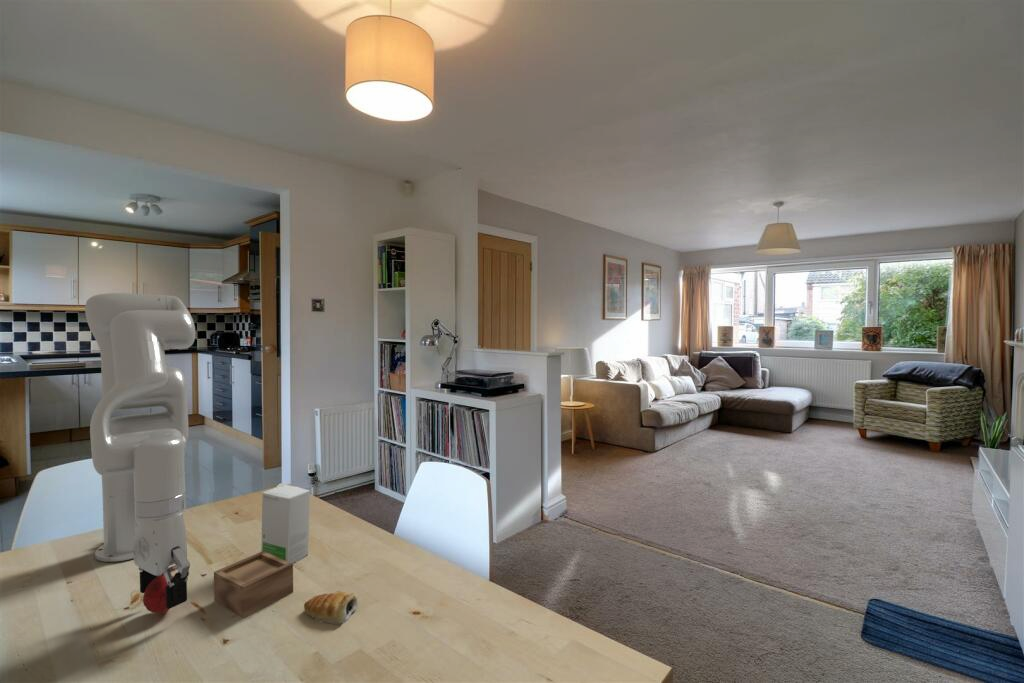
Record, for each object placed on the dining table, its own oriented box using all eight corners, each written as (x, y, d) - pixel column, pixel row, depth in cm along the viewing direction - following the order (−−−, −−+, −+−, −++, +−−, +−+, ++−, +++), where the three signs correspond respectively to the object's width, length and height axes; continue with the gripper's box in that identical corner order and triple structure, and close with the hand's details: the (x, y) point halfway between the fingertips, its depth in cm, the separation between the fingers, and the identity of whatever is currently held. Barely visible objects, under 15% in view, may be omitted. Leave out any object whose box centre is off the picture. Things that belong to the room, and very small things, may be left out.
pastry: (295, 621, 89) (295, 601, 88) (316, 600, 95) (316, 581, 95) (343, 628, 87) (343, 607, 87) (361, 606, 94) (361, 586, 93)
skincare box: (260, 560, 110) (259, 492, 109) (284, 547, 116) (283, 483, 116) (288, 567, 107) (287, 498, 106) (311, 554, 113) (310, 488, 112)
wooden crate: (214, 601, 94) (213, 572, 94) (263, 577, 103) (263, 551, 102) (244, 618, 89) (243, 587, 89) (293, 592, 98) (292, 563, 97)
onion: (162, 625, 87) (161, 581, 86) (135, 620, 88) (134, 577, 88) (189, 606, 92) (188, 565, 92) (164, 602, 94) (163, 561, 93)
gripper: (115, 502, 90) (117, 593, 91) (160, 522, 81) (163, 622, 82) (160, 490, 97) (163, 575, 97) (207, 507, 88) (210, 600, 89)
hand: (163, 596), depth 90 cm, fingers open, 9 cm apart
